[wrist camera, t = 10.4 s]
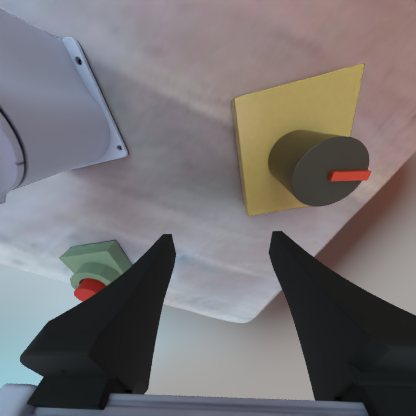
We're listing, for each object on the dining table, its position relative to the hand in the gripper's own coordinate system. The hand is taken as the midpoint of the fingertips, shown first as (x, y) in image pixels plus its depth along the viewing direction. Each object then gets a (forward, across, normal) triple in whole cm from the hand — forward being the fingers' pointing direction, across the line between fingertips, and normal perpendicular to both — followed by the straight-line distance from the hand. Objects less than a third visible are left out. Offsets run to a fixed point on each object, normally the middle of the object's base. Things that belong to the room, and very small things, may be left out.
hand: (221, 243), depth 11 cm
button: (+5, +19, +13) cm, 23 cm away
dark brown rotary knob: (+6, -7, -4) cm, 10 cm away
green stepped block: (+9, +19, +13) cm, 25 cm away
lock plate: (+9, -7, -4) cm, 12 cm away
